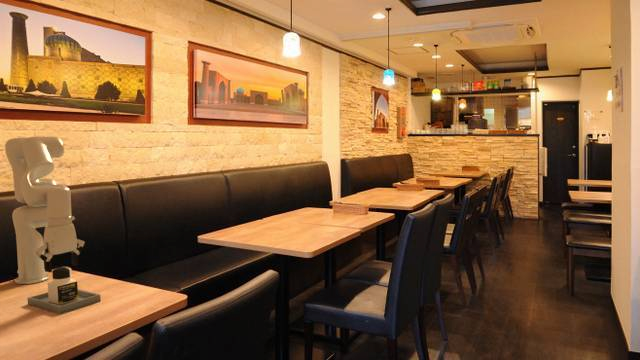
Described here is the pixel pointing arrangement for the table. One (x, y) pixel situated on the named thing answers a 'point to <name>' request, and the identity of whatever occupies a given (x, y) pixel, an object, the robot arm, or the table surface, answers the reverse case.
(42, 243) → the robot arm
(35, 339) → the table surface
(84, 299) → the gray tray
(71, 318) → the table surface
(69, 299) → the medicine bottle
